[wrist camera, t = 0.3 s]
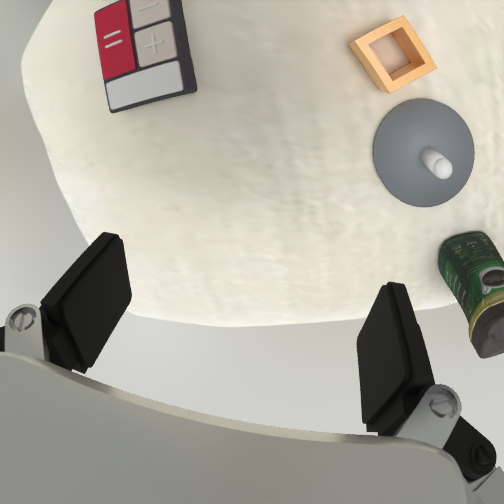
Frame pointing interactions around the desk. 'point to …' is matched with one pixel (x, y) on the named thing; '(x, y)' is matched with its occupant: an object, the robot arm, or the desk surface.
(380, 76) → the collar
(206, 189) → the desk surface
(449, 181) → the post stand
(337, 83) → the desk surface
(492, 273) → the coffee jar
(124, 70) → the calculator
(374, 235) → the desk surface
